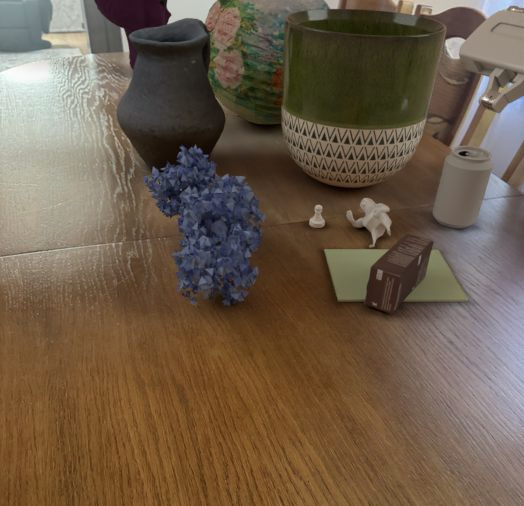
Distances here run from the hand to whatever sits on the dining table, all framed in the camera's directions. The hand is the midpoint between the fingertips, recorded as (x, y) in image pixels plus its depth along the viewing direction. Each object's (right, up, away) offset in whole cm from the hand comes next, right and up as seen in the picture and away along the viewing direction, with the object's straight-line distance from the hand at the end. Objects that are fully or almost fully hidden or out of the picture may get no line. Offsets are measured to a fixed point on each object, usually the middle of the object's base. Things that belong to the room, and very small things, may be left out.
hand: (487, 107), depth 72 cm
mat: (-10, -20, +10) cm, 25 cm away
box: (-7, -17, +8) cm, 20 cm away
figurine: (-12, -12, +21) cm, 27 cm away
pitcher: (-46, +6, +41) cm, 62 cm away
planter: (-13, +2, +38) cm, 40 cm away
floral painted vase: (-28, +24, +65) cm, 74 cm away
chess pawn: (-20, -10, +22) cm, 31 cm away
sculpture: (-67, +53, +98) cm, 130 cm away
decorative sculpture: (-37, -19, +11) cm, 43 cm away
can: (+4, -9, +25) cm, 27 cm away
